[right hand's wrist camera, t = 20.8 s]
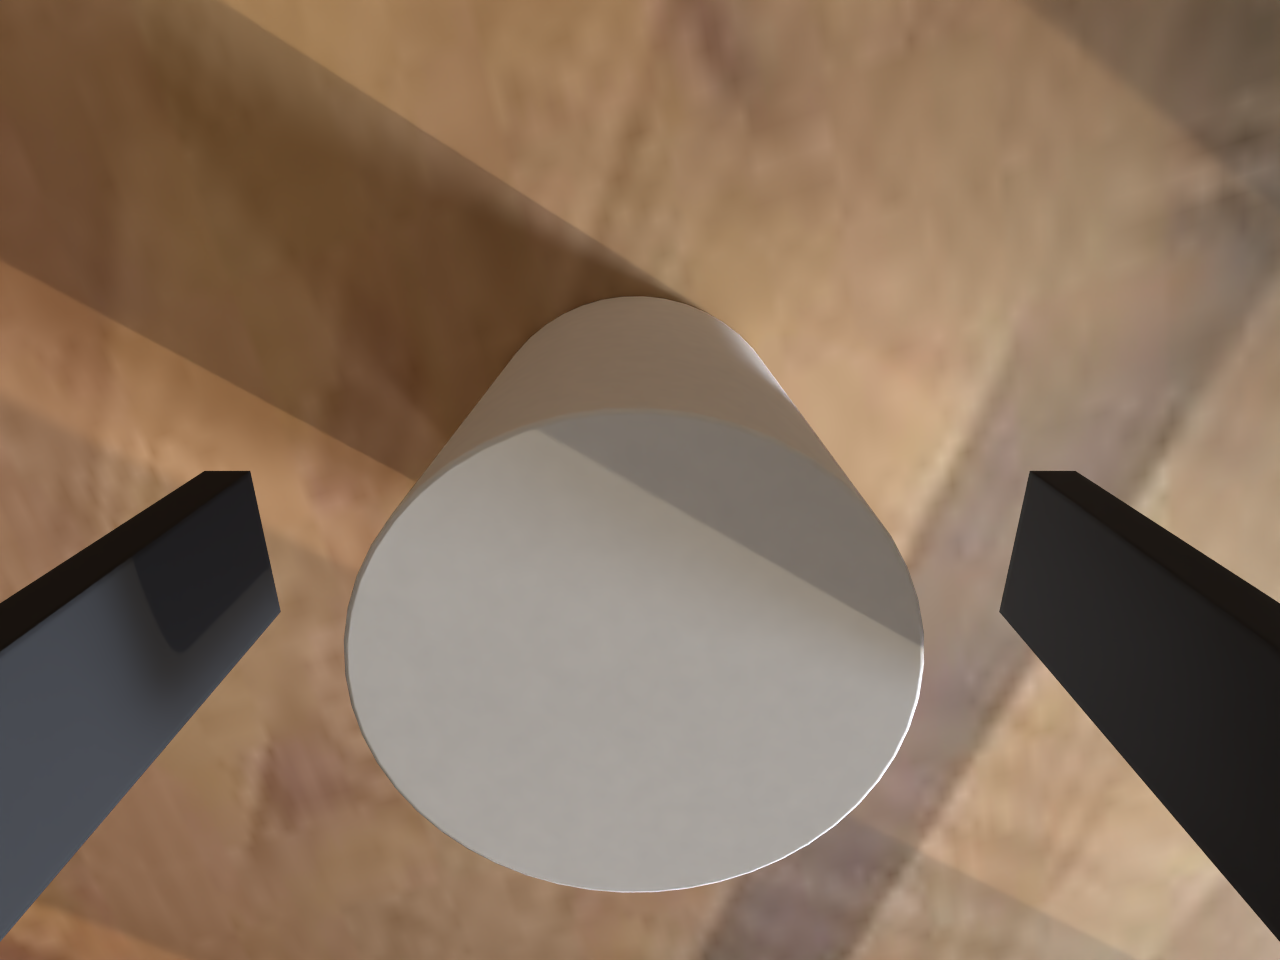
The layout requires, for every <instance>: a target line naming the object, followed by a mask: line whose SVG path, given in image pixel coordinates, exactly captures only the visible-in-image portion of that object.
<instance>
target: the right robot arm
mask: <svg viewBox="0 0 1280 960" xmlns="http://www.w3.org/2000/svg"><path fill="white" fill-rule="evenodd" d="M280 612H281V611H280V607H279V602H278V597H277V593H276V588H275V584H274V579H273V574H272V570H271V565H270V561H269V556H268V551H267V547H266V542H265V537H264V533H263V528H262V524H261V519H260V514H259V510H258V505H257V501H256V496H255V491H254V487H253V482H252V477H251V473H250V471H204V472H202V473H201V474H199V475H198V476H196V477H195V478H193V479H192V480H190V481H188V482H187V483H185V484H184V485H182V486H181V487H179V488H178V489H176V490H175V491H173V492H171V493H170V494H168V495H167V496H165V497H164V498H162V499H161V500H159V501H158V502H156V503H154V504H153V505H151V506H150V507H148V508H147V509H145V510H144V511H142V512H141V513H139V514H137V515H136V516H134V517H133V518H131V519H130V520H128V521H127V522H125V523H124V524H122V525H120V526H119V527H117V528H116V529H114V530H113V531H111V532H110V533H108V534H107V535H105V536H103V537H102V538H100V539H99V540H97V541H96V542H94V543H93V544H91V545H90V546H88V547H87V548H85V549H83V550H82V551H80V552H79V553H77V554H76V555H74V556H73V557H71V558H70V559H68V560H66V561H65V562H63V563H62V564H60V565H59V566H57V567H56V568H54V569H53V570H51V571H49V572H48V573H46V574H45V575H43V576H42V577H40V578H39V579H37V580H36V581H34V582H32V583H31V584H29V585H28V586H26V587H25V588H23V589H22V590H20V591H19V592H17V593H15V594H14V595H12V596H11V597H9V598H8V599H6V600H5V601H3V602H2V603H0V941H1V940H2V939H3V938H4V937H5V935H6V934H7V933H8V932H9V931H10V929H11V928H12V927H13V926H14V925H15V924H16V922H17V921H18V920H19V919H20V918H21V917H22V915H23V914H24V913H25V912H26V911H27V909H28V908H29V907H30V906H31V905H32V904H33V902H34V901H35V900H36V899H37V898H38V897H39V895H40V894H41V893H42V892H43V891H44V889H45V888H46V887H47V886H48V885H49V884H50V882H51V881H52V880H53V879H54V878H55V877H56V875H57V874H58V873H59V872H60V871H61V869H62V868H63V867H64V866H65V865H66V864H67V862H68V861H69V860H70V859H71V858H72V857H73V855H74V854H75V853H76V852H77V851H78V849H79V848H80V847H81V846H82V845H83V844H84V842H85V841H86V840H87V839H88V838H89V837H90V835H91V834H92V833H93V832H94V831H95V829H96V828H97V827H98V826H99V825H100V824H101V822H102V821H103V820H104V819H105V818H106V817H107V815H108V814H109V813H110V812H111V811H112V809H113V808H114V807H115V806H116V805H117V804H118V802H119V801H120V800H121V799H122V798H123V797H124V795H125V794H126V793H127V792H128V791H129V789H130V788H131V787H132V786H133V785H134V784H135V782H136V781H137V780H138V779H139V778H140V777H141V775H142V774H143V773H144V772H145V771H146V770H147V768H148V767H149V766H150V765H151V764H152V762H153V761H154V760H155V759H156V758H157V757H158V755H159V754H160V753H161V752H162V751H163V750H164V748H165V747H166V746H167V745H168V744H169V742H170V741H171V740H172V739H173V738H174V737H175V735H176V734H177V733H178V732H179V731H180V730H181V728H182V727H183V726H184V725H185V724H186V722H187V721H188V720H189V719H190V718H191V717H192V715H193V714H194V713H195V712H196V711H197V710H198V708H199V707H200V706H201V705H202V704H203V702H204V701H205V700H206V699H207V698H208V697H209V695H210V694H211V693H212V692H213V691H214V690H215V688H216V687H217V686H218V685H219V684H220V682H221V681H222V680H223V679H224V678H225V677H226V675H227V674H228V673H229V672H230V671H231V670H232V668H233V667H234V666H235V665H236V664H237V662H238V661H239V660H240V659H241V658H242V657H243V655H244V654H245V653H246V652H247V651H248V650H249V648H250V647H251V646H252V645H253V644H254V642H255V641H256V640H257V639H258V638H259V637H260V635H261V634H262V633H263V632H264V631H265V630H266V628H267V627H268V626H269V625H270V624H271V622H272V621H273V620H274V619H275V618H276V617H277V615H278V614H279V613H280ZM999 612H1000V613H1001V614H1002V615H1003V617H1004V618H1005V619H1006V620H1007V621H1008V622H1009V624H1010V625H1011V626H1012V627H1013V628H1014V630H1015V631H1016V632H1017V633H1018V634H1019V635H1020V637H1021V638H1022V639H1023V640H1024V641H1025V642H1026V644H1027V645H1028V646H1029V647H1030V648H1031V650H1032V651H1033V652H1034V653H1035V654H1036V655H1037V657H1038V658H1039V659H1040V660H1041V661H1042V662H1043V664H1044V665H1045V666H1046V667H1047V668H1048V670H1049V671H1050V672H1051V673H1052V674H1053V675H1054V677H1055V678H1056V679H1057V680H1058V681H1059V682H1060V684H1061V685H1062V686H1063V687H1064V688H1065V690H1066V691H1067V692H1068V693H1069V694H1070V695H1071V697H1072V698H1073V699H1074V700H1075V701H1076V702H1077V704H1078V705H1079V706H1080V707H1081V708H1082V710H1083V711H1084V712H1085V713H1086V714H1087V715H1088V717H1089V718H1090V719H1091V720H1092V721H1093V722H1094V724H1095V725H1096V726H1097V727H1098V728H1099V730H1100V731H1101V732H1102V733H1103V734H1104V735H1105V737H1106V738H1107V739H1108V740H1109V741H1110V742H1111V744H1112V745H1113V746H1114V747H1115V748H1116V750H1117V751H1118V752H1119V753H1120V754H1121V755H1122V757H1123V758H1124V759H1125V760H1126V761H1127V762H1128V764H1129V765H1130V766H1131V767H1132V768H1133V770H1134V771H1135V772H1136V773H1137V774H1138V775H1139V777H1140V778H1141V779H1142V780H1143V781H1144V782H1145V784H1146V785H1147V786H1148V787H1149V788H1150V789H1151V791H1152V792H1153V793H1154V794H1155V795H1156V797H1157V798H1158V799H1159V800H1160V801H1161V802H1162V804H1163V805H1164V806H1165V807H1166V808H1167V809H1168V811H1169V812H1170V813H1171V814H1172V815H1173V817H1174V818H1175V819H1176V820H1177V821H1178V822H1179V824H1180V825H1181V826H1182V827H1183V828H1184V829H1185V831H1186V832H1187V833H1188V834H1189V835H1190V837H1191V838H1192V839H1193V840H1194V841H1195V842H1196V844H1197V845H1198V846H1199V847H1200V848H1201V849H1202V851H1203V852H1204V853H1205V854H1206V855H1207V857H1208V858H1209V859H1210V860H1211V861H1212V862H1213V864H1214V865H1215V866H1216V867H1217V868H1218V869H1219V871H1220V872H1221V873H1222V874H1223V875H1224V877H1225V878H1226V879H1227V880H1228V881H1229V882H1230V884H1231V885H1232V886H1233V887H1234V888H1235V889H1236V891H1237V892H1238V893H1239V894H1240V895H1241V897H1242V898H1243V899H1244V900H1245V901H1246V902H1247V904H1248V905H1249V906H1250V907H1251V908H1252V909H1253V911H1254V912H1255V913H1256V914H1257V915H1258V917H1259V918H1260V919H1261V920H1262V921H1263V922H1264V924H1265V925H1266V926H1267V927H1268V928H1269V929H1270V931H1271V932H1272V933H1273V934H1274V935H1275V937H1276V938H1277V939H1278V940H1279V941H1280V603H1278V602H1277V601H1275V600H1274V599H1272V598H1271V597H1269V596H1268V595H1266V594H1265V593H1263V592H1261V591H1260V590H1258V589H1257V588H1255V587H1254V586H1252V585H1251V584H1249V583H1248V582H1246V581H1244V580H1243V579H1241V578H1240V577H1238V576H1237V575H1235V574H1234V573H1232V572H1231V571H1229V570H1227V569H1226V568H1224V567H1223V566H1221V565H1220V564H1218V563H1217V562H1215V561H1214V560H1212V559H1210V558H1209V557H1207V556H1206V555H1204V554H1203V553H1201V552H1200V551H1198V550H1197V549H1195V548H1193V547H1192V546H1190V545H1189V544H1187V543H1186V542H1184V541H1183V540H1181V539H1180V538H1178V537H1177V536H1175V535H1173V534H1172V533H1170V532H1169V531H1167V530H1166V529H1164V528H1163V527H1161V526H1160V525H1158V524H1156V523H1155V522H1153V521H1152V520H1150V519H1149V518H1147V517H1146V516H1144V515H1143V514H1141V513H1139V512H1138V511H1136V510H1135V509H1133V508H1132V507H1130V506H1129V505H1127V504H1126V503H1124V502H1122V501H1121V500H1119V499H1118V498H1116V497H1115V496H1113V495H1112V494H1110V493H1109V492H1107V491H1105V490H1104V489H1102V488H1101V487H1099V486H1098V485H1096V484H1095V483H1093V482H1092V481H1090V480H1088V479H1087V478H1085V477H1084V476H1082V475H1081V474H1079V473H1078V472H1076V471H1030V473H1029V477H1028V482H1027V487H1026V491H1025V496H1024V501H1023V505H1022V510H1021V514H1020V519H1019V524H1018V528H1017V533H1016V537H1015V542H1014V547H1013V551H1012V556H1011V561H1010V565H1009V570H1008V574H1007V579H1006V584H1005V588H1004V593H1003V597H1002V602H1001V607H1000V611H999Z"/></svg>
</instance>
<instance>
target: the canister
mask: <svg viewBox="0 0 1280 960" xmlns="http://www.w3.org/2000/svg"><path fill="white" fill-rule="evenodd" d="M344 653H345V675H346V680H347V685H348V690H349V695H350V700H351V705H352V708H353V711H354V713H355V716H356V719H357V722H358V724H359V727H360V730H361V733H362V735H363V737H364V739H365V741H366V743H367V745H368V747H369V748H370V750H371V752H372V754H373V756H374V758H375V760H376V761H377V763H378V765H379V766H380V767H381V769H382V770H383V771H384V773H385V774H386V776H387V777H388V778H389V780H390V781H391V782H392V784H393V785H394V787H395V788H396V789H397V790H398V791H399V792H400V793H401V794H402V795H403V796H404V798H405V799H406V800H407V801H408V802H409V803H410V804H411V805H412V806H413V807H414V808H415V809H416V810H417V811H418V812H419V813H420V814H421V815H423V816H424V817H425V818H426V819H427V820H429V821H430V822H431V823H432V824H433V825H435V826H436V827H437V828H438V829H439V830H440V831H442V832H443V833H445V834H446V835H448V836H449V837H451V838H452V839H454V840H455V841H457V842H458V843H460V844H462V845H463V846H465V847H466V848H468V849H469V850H471V851H473V852H475V853H477V854H479V855H481V856H483V857H485V858H487V859H489V860H491V861H493V862H495V863H497V864H499V865H502V866H504V867H507V868H509V869H512V870H515V871H517V872H520V873H522V874H525V875H528V876H531V877H535V878H538V879H542V880H546V881H549V882H553V883H556V884H561V885H567V886H572V887H578V888H583V889H589V890H600V891H612V892H659V891H669V890H678V889H687V888H692V887H697V886H702V885H707V884H712V883H717V882H721V881H724V880H728V879H731V878H734V877H737V876H740V875H744V874H747V873H750V872H753V871H755V870H757V869H760V868H762V867H764V866H767V865H769V864H772V863H774V862H776V861H779V860H781V859H783V858H785V857H786V856H788V855H790V854H792V853H794V852H795V851H797V850H799V849H801V848H803V847H804V846H806V845H808V844H810V843H811V842H812V841H814V840H815V839H817V838H818V837H819V836H821V835H822V834H824V833H825V832H827V831H828V830H829V829H831V828H832V827H834V826H835V825H836V824H837V823H838V822H839V821H841V820H842V819H843V818H844V817H845V816H846V815H847V814H848V813H849V812H851V811H852V810H853V809H854V808H855V807H856V806H857V805H858V804H859V803H860V802H861V801H862V800H863V799H864V797H865V796H866V795H867V794H868V793H869V792H870V790H871V789H872V788H873V787H874V786H875V785H876V784H877V782H878V781H879V780H880V778H881V777H882V775H883V774H884V772H885V771H886V769H887V768H888V766H889V765H890V763H891V762H892V760H893V759H894V757H895V756H896V754H897V752H898V750H899V748H900V746H901V744H902V742H903V739H904V737H905V735H906V733H907V731H908V729H909V727H910V724H911V720H912V717H913V714H914V711H915V708H916V705H917V701H918V698H919V692H920V686H921V679H922V673H923V666H924V631H923V625H922V619H921V613H920V607H919V601H918V597H917V594H916V591H915V588H914V585H913V582H912V579H911V576H910V573H909V570H908V567H907V565H906V564H905V562H904V560H903V558H902V556H901V554H900V552H899V550H898V548H897V546H896V544H895V543H894V541H893V539H892V537H891V535H890V534H889V533H888V531H887V530H886V528H885V527H884V526H883V524H882V523H881V522H880V520H879V519H878V518H877V516H876V515H875V514H874V512H873V511H872V509H871V508H870V507H869V505H868V504H867V503H866V501H865V500H864V499H863V497H862V496H861V495H860V493H859V492H858V490H857V489H856V488H855V486H854V485H853V484H852V482H851V481H850V480H849V478H848V477H847V475H846V474H845V473H844V471H843V470H842V469H841V467H840V466H839V465H838V463H837V462H836V461H835V459H834V458H833V456H832V455H831V454H830V452H829V451H828V450H827V448H826V447H825V446H824V444H823V443H822V442H821V440H820V439H819V437H818V436H817V435H816V433H815V432H814V431H813V429H812V428H811V427H810V425H809V424H808V423H807V421H806V420H805V418H804V417H803V416H802V414H801V413H800V412H799V410H798V409H797V408H796V406H795V405H794V403H793V402H792V401H791V399H790V398H789V397H788V395H787V394H786V393H785V391H784V390H783V389H782V387H781V386H780V384H779V383H778V382H777V380H776V379H775V378H774V376H773V375H772V374H771V372H770V371H769V370H768V368H767V367H766V365H765V364H764V363H763V361H762V360H761V359H760V357H759V356H758V355H757V353H756V352H755V351H754V349H753V348H752V347H751V346H750V345H749V344H748V343H747V342H746V341H745V340H744V339H743V338H742V337H741V336H740V335H739V334H738V333H736V332H735V331H734V330H733V329H731V328H730V327H729V326H727V325H726V324H725V323H724V322H722V321H720V320H718V319H717V318H715V317H713V316H711V315H710V314H708V313H706V312H704V311H702V310H699V309H697V308H694V307H692V306H689V305H687V304H684V303H680V302H676V301H672V300H668V299H663V298H655V297H646V296H630V297H617V298H611V299H604V300H600V301H596V302H593V303H589V304H586V305H583V306H580V307H578V308H576V309H573V310H571V311H569V312H567V313H565V314H562V315H561V316H559V317H558V318H556V319H554V320H553V321H551V322H550V323H548V324H546V325H545V326H544V327H542V328H541V329H540V330H539V331H538V332H536V333H535V334H534V335H533V336H532V337H530V338H529V339H528V340H527V342H526V343H525V344H524V345H523V346H522V347H521V348H520V349H519V350H518V351H517V353H516V354H515V355H514V356H513V358H512V359H511V360H510V362H509V363H508V364H507V365H506V367H505V368H504V369H503V371H502V372H501V373H500V375H499V376H498V377H497V378H496V380H495V381H494V382H493V384H492V385H491V386H490V388H489V389H488V390H487V391H486V393H485V394H484V395H483V397H482V398H481V399H480V400H479V402H478V403H477V404H476V406H475V407H474V408H473V410H472V411H471V412H470V413H469V415H468V416H467V417H466V419H465V420H464V421H463V423H462V424H461V425H460V426H459V428H458V429H457V430H456V432H455V433H454V434H453V436H452V437H451V438H450V439H449V441H448V442H447V443H446V445H445V446H444V447H443V448H442V450H441V451H440V452H439V454H438V455H437V456H436V458H435V459H434V460H433V461H432V463H431V464H430V465H429V467H428V468H427V469H426V471H425V472H424V473H423V474H422V476H421V477H420V478H419V480H418V481H417V482H416V484H415V485H414V486H413V487H412V489H411V490H410V491H409V493H408V494H407V495H406V496H405V498H404V499H403V500H402V502H401V503H400V504H399V506H398V507H397V508H396V509H395V511H394V512H393V513H392V515H391V516H390V518H389V519H388V521H387V522H386V524H385V525H384V527H383V528H382V530H381V531H380V532H379V534H378V535H377V537H376V538H375V540H374V541H373V543H372V544H371V547H370V549H369V551H368V553H367V555H366V557H365V559H364V562H363V564H362V566H361V568H360V570H359V572H358V574H357V577H356V581H355V584H354V588H353V591H352V595H351V598H350V602H349V605H348V610H347V618H346V627H345V636H344Z"/></svg>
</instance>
